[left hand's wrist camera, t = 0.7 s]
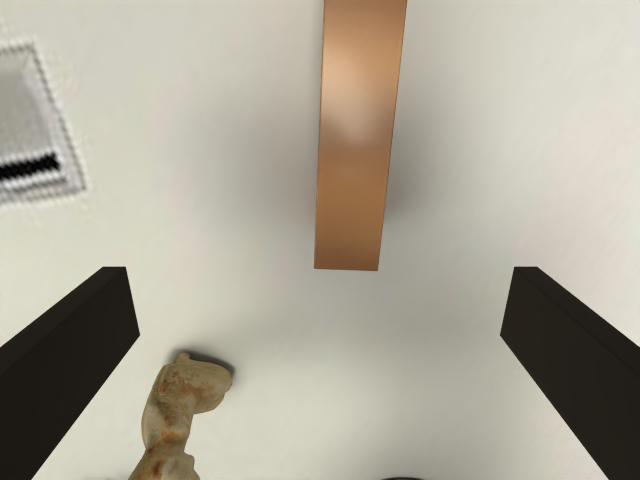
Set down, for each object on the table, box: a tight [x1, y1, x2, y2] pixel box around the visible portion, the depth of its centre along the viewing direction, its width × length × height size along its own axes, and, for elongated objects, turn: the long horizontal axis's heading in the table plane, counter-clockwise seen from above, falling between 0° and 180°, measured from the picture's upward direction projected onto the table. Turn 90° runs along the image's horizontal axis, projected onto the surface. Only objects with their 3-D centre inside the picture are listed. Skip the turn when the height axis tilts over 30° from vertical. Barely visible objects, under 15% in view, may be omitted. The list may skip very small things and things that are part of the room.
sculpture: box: [128, 353, 232, 480], centre depth 33 cm, size 6×7×15 cm
